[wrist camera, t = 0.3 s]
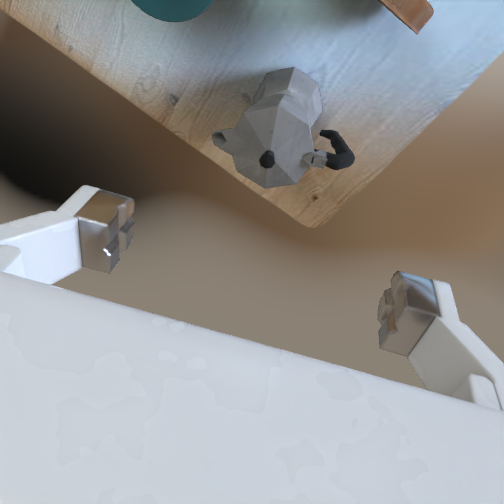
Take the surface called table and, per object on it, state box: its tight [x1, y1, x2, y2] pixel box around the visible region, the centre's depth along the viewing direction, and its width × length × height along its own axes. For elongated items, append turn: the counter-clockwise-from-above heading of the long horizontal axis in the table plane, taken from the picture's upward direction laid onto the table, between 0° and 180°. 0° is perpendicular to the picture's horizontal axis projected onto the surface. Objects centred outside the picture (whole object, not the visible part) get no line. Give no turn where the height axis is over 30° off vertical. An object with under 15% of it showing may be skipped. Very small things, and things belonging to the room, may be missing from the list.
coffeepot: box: [212, 67, 355, 188], centre depth 49 cm, size 15×9×18 cm, turn 83°
